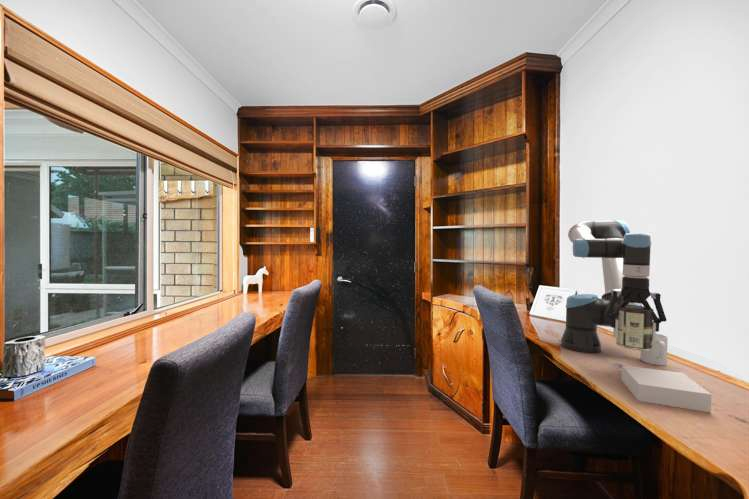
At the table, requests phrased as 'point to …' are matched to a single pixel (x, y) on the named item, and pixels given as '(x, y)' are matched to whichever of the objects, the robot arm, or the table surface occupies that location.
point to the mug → (656, 351)
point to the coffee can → (635, 328)
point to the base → (666, 388)
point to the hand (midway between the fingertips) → (633, 338)
